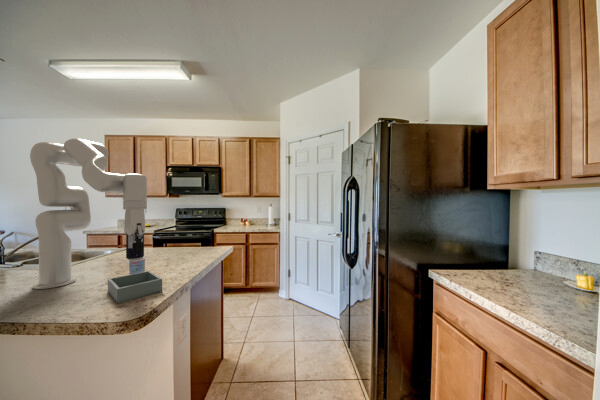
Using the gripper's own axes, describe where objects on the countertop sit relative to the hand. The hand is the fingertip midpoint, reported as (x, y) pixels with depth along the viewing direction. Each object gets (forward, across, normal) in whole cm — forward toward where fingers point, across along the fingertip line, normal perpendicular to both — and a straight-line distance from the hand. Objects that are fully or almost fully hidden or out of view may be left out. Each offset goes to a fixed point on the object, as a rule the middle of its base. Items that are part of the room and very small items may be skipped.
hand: (135, 251), depth 90 cm
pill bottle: (+16, -22, +6) cm, 28 cm away
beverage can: (+3, 0, 0) cm, 3 cm away
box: (+16, 0, 0) cm, 16 cm away
